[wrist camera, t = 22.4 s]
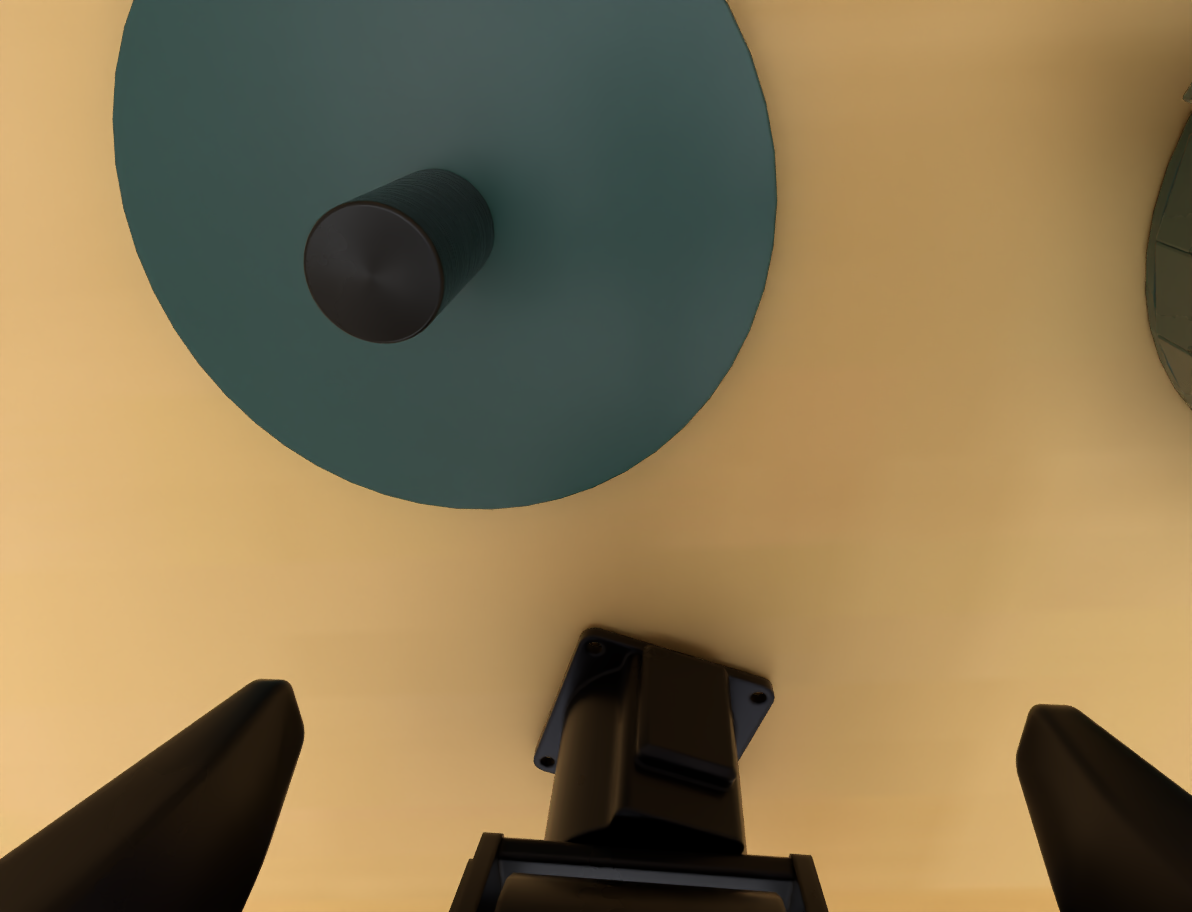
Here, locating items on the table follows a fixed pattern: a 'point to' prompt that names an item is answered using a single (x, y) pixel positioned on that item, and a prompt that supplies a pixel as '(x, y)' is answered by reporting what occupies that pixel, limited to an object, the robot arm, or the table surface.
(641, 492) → the table surface
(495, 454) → the pot lid
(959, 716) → the table surface
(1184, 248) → the pot
